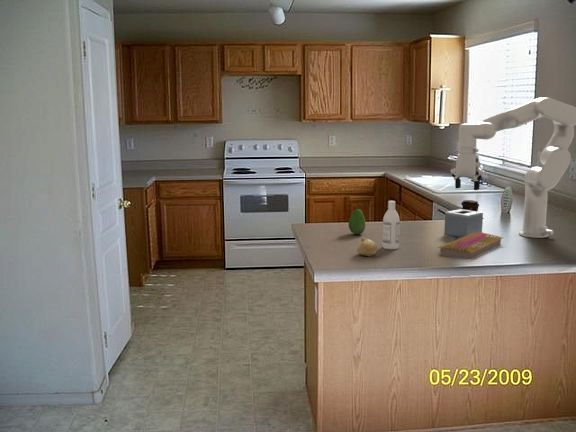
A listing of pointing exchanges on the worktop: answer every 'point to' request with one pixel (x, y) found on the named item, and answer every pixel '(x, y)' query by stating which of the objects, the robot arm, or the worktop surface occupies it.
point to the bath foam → (391, 227)
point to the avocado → (357, 222)
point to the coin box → (462, 223)
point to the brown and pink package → (470, 245)
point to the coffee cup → (470, 205)
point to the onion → (366, 247)
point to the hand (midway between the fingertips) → (467, 188)
